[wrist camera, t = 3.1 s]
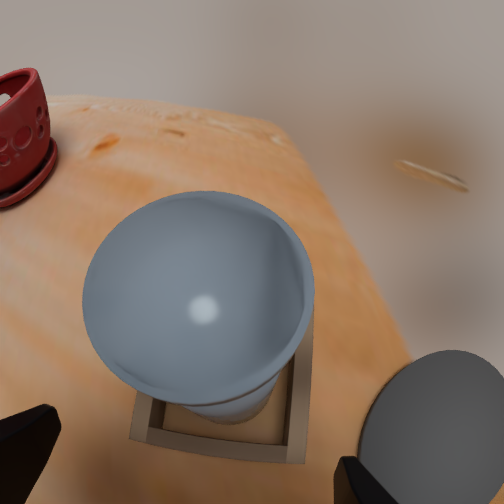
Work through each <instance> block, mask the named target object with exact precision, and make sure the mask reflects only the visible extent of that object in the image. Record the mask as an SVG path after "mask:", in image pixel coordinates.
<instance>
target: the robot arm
mask: <svg viewBox="0 0 504 504" xmlns="http://www.w3.org/2000/svg"><path fill="white" fill-rule="evenodd" d="M60 431H61V422H60V420H59V417H58V413H57V410H56V409H55V407H53V406H50V405H48V404H42V405H39V406H36V407H34V408H31V409H29V410H26V411H23V412H21V413H18V414H15V415H13V416H10V417H7V418H4V419H2V420H0V504H25V502H26V500H27V498H28V496H29V494H30V493H31V491H32V489H33V487H34V485H35V483H36V482H37V480H38V478H39V476H40V474H41V473H42V471H43V469H44V467H45V465H46V464H47V461H48V459H49V457H50V455H51V452H52V450H53V447H54V445H55V443H56V441H57V438H58V436H59V434H60ZM333 480H334V504H399V503H398V502H397V501H396V500H395V499H394V498H393V497H392V496H391V495H390V494H389V493H388V491H387V490H386V489H385V488H384V487H383V486H382V485H381V484H380V483H379V482H378V481H377V480H376V479H375V477H374V476H373V475H372V474H371V473H370V472H369V471H368V470H367V469H366V468H365V467H364V465H363V464H362V463H361V462H360V461H359V460H358V459H357V458H356V457H355V456H342V457H341V458H340V460H339V462H338V465H337V467H336V470H335V473H334V479H333Z"/></svg>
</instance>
